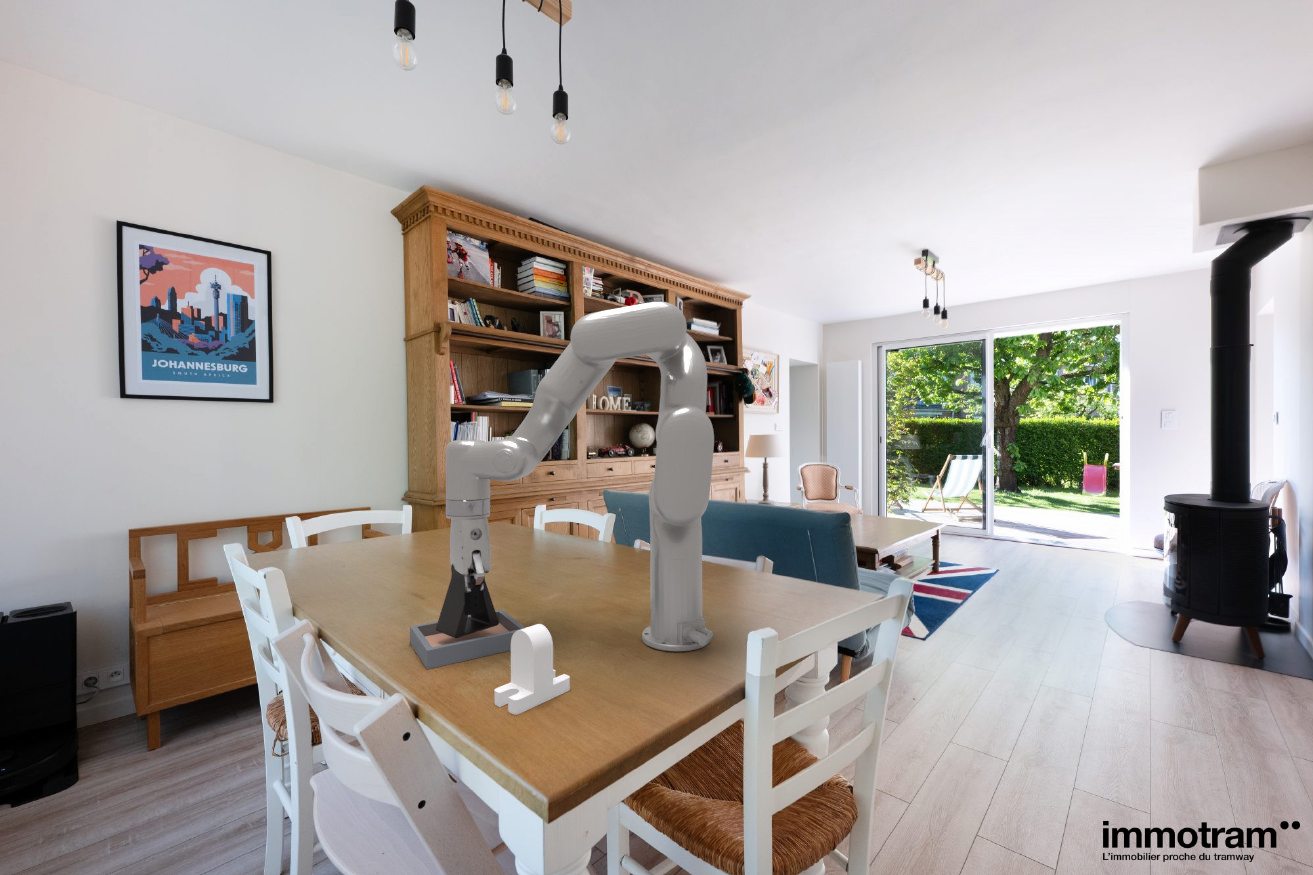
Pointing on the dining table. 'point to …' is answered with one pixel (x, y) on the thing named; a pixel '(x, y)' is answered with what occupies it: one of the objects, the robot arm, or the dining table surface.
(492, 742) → the dining table surface
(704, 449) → the robot arm
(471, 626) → the phone stand
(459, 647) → the grey tray
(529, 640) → the cable organizer
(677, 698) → the dining table surface
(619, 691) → the dining table surface
